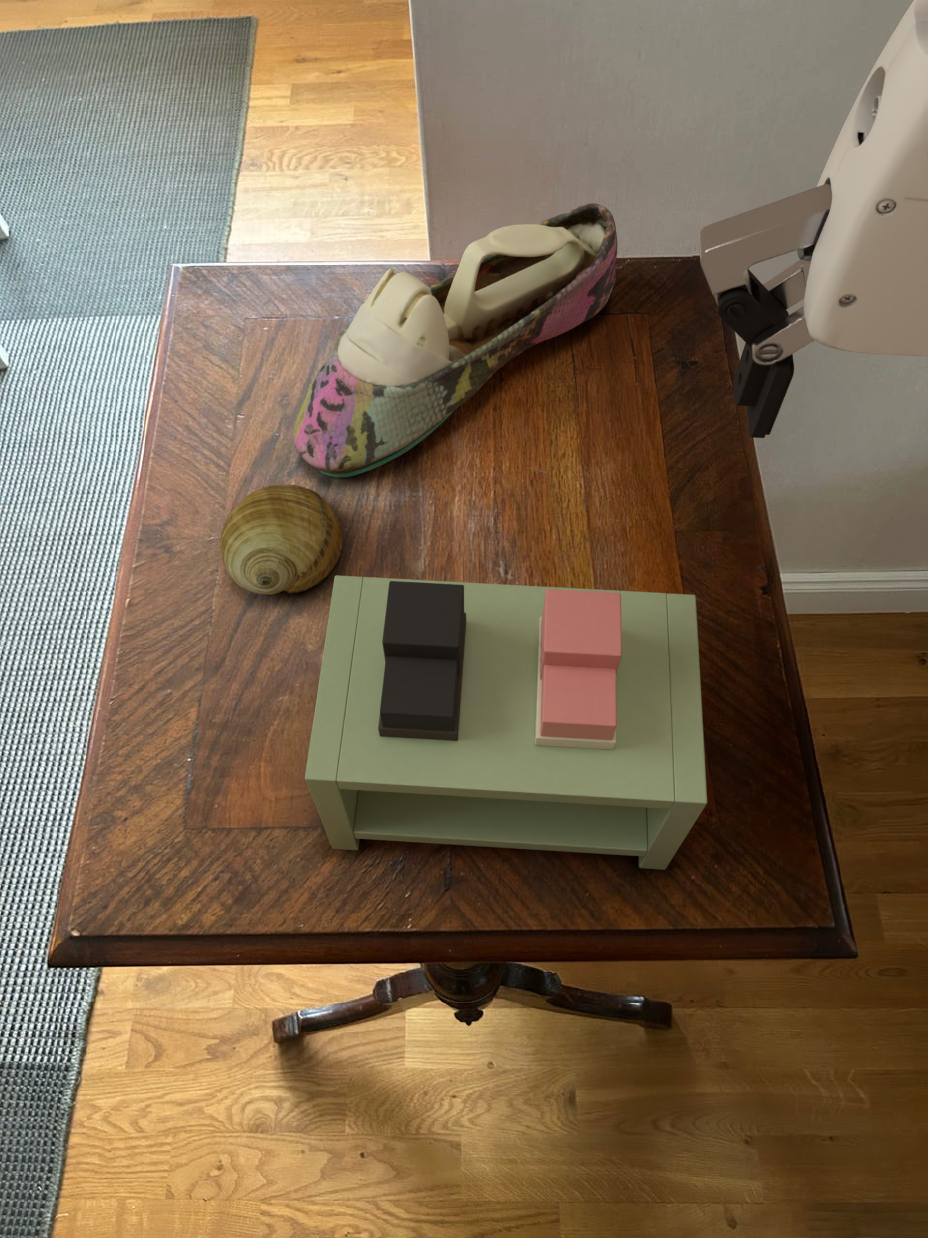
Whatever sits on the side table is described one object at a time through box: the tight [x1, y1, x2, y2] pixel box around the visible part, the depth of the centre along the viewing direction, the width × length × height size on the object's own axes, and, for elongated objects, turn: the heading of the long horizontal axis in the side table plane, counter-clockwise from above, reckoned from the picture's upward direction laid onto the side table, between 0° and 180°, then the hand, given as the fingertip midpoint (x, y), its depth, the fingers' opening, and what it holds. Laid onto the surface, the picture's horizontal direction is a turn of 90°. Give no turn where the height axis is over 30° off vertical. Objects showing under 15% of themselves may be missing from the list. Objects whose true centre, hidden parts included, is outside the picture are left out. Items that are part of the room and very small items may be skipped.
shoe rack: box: [304, 575, 708, 871], centre depth 58 cm, size 20×12×12 cm, turn 86°
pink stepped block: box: [535, 589, 622, 750], centre depth 51 cm, size 7×4×4 cm, turn 176°
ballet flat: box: [294, 202, 619, 478], centre depth 75 cm, size 10×30×11 cm, turn 130°
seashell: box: [219, 484, 343, 596], centre depth 69 cm, size 10×7×8 cm
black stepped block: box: [378, 581, 466, 741], centre depth 51 cm, size 7×4×4 cm, turn 176°
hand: (875, 416), depth 41 cm, fingers open, 9 cm apart
